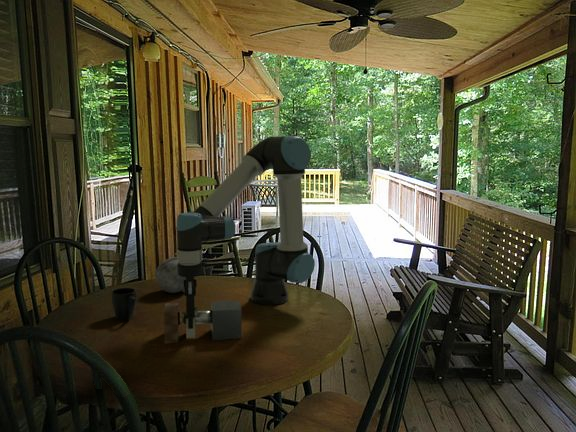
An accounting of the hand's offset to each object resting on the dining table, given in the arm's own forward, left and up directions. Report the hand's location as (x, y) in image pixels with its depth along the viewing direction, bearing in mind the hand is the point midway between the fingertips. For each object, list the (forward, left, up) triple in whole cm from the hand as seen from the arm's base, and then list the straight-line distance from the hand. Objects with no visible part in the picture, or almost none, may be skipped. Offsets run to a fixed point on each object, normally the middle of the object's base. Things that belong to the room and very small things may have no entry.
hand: (190, 333), depth 142 cm
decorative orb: (+7, -48, -1) cm, 49 cm away
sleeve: (-11, 0, -1) cm, 11 cm away
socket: (+6, 0, -1) cm, 6 cm away
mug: (+22, -20, -1) cm, 30 cm away
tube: (-3, 0, +3) cm, 4 cm away
